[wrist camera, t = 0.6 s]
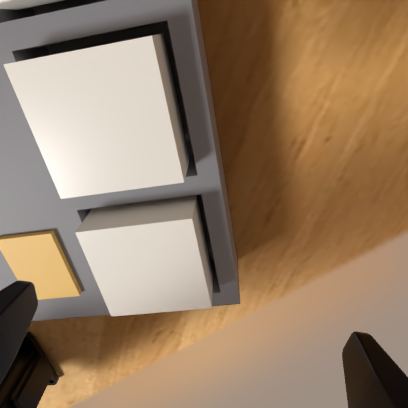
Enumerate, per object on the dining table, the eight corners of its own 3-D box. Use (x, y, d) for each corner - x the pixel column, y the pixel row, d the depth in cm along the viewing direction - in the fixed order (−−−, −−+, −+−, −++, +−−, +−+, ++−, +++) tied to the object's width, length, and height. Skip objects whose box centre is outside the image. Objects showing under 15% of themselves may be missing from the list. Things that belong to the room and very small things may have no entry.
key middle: (82, 175, 17) (61, 199, 15) (37, 57, 14) (3, 64, 12) (189, 160, 16) (184, 182, 14) (163, 33, 13) (151, 35, 11)
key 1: (123, 284, 20) (111, 316, 18) (93, 206, 18) (75, 232, 15) (213, 276, 20) (211, 308, 17) (196, 193, 17) (191, 218, 15)
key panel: (237, 260, 23) (240, 307, 19) (49, 279, 24) (18, 325, 21) (159, -252, 12) (128, -381, 8) (-171, -150, 13) (-324, -216, 10)
